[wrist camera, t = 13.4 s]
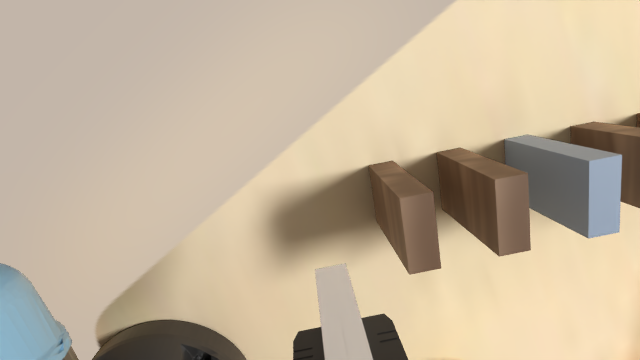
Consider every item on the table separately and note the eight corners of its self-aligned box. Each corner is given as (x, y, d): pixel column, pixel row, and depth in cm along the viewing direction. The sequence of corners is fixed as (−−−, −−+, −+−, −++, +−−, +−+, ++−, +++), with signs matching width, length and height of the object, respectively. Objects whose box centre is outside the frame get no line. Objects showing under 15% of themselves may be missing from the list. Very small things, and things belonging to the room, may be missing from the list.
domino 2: (442, 209, 32) (499, 256, 23) (436, 152, 30) (494, 179, 22) (464, 204, 32) (530, 250, 23) (460, 147, 30) (528, 173, 22)
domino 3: (527, 134, 30) (622, 154, 22) (529, 191, 32) (619, 232, 23) (504, 139, 30) (589, 161, 22) (507, 196, 32) (588, 238, 23)
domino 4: (570, 183, 32) (675, 221, 23) (570, 126, 31) (681, 143, 22) (593, 179, 32) (706, 214, 23) (594, 121, 31) (714, 136, 22)
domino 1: (376, 221, 31) (409, 274, 23) (368, 165, 30) (399, 198, 21) (399, 217, 31) (441, 268, 23) (392, 160, 30) (433, 191, 21)
